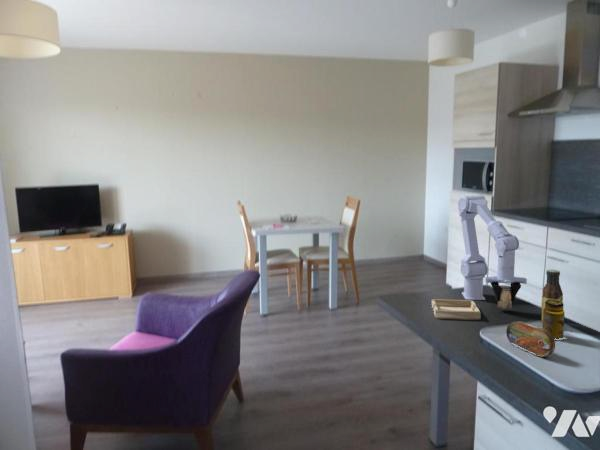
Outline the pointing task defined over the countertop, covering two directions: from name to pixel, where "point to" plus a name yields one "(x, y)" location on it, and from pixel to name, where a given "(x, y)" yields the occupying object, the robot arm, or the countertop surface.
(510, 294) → the can
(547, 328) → the condiment
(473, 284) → the robot arm
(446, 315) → the tray
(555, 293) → the sauce bottle
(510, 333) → the tin
